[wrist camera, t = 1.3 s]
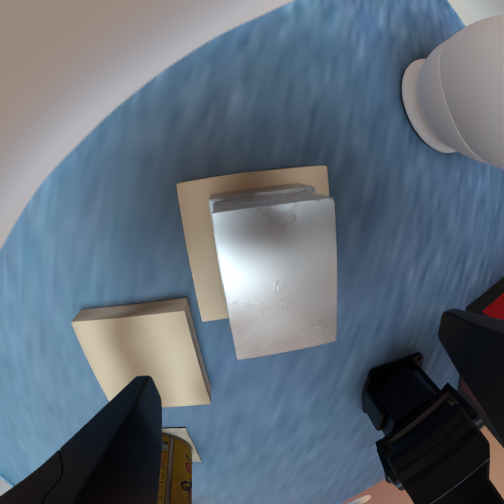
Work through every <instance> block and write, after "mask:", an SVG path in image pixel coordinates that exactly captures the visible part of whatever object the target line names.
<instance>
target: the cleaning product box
mask: <svg viewBox="0 0 504 504" xmlns="http://www.w3.org/2000/svg"><path fill="white" fill-rule="evenodd" d="M466 311H467V312H471V313H476V314H480V315H485V316H489V317H493V318H498V319H502V320H504V277H503V278H502V279H501V280H499V281H498V282H497V283H496V284H495V285H494V286H492V287H491V288H490V289H489V290H488V291H486V292H485V293H484V294H483V295H481V296H480V297H479V298H478V299H476V300H475V301H474V302H473V303H471V304H470V305H469V306H467V307H466ZM457 392H458V393H459V394H460V395H461V396H462V397H463V398H464V399H465V400H466V401H467V402H468V403H469V404H470V405H471V406H472V407H473V408H474V410H475V411H476V412H477V413H478V415H479V416H480V418H481V419H482V421H483V422H484V424H485V426H486V427H487V428H488V430H489V431H490V432H491V433H492V434H493V436H494V437H495V438H496V439H497V440H498V442H499V443H500V444H501V445H502V446H503V448H504V444H503V442H502V440H501V439H500V437H499V435H498V433H497V432H496V430H495V428H494V427H493V425H492V423H491V422H490V420H489V418H488V417H487V415H486V413H485V412H484V410H483V409H482V407H481V406H480V404H479V402H478V401H477V399H476V398H475V396H474V395H473V393H472V392H471V390H470V389H469V387H468V386H467V384H466V383H465V381H464V380H463V379H462V377H461V376H460V378H459V384H458V389H457Z"/></svg>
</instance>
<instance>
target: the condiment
mask: <svg viewBox="0 0 504 504" xmlns="http://www.w3.org/2000/svg"><path fill="white" fill-rule="evenodd" d="M192 462H202V461H201V459H200V457H199V455H198V453H197V451H196V449H195V446H194V445H193V443H192V440H191V439H190V437H189V435H188V433H187V430H186V428H166V429H162V455H161V465H160V477H159V490H158V504H192V500H191V499H192Z"/></svg>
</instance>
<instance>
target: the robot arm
mask: <svg viewBox="0 0 504 504" xmlns="http://www.w3.org/2000/svg"><path fill="white" fill-rule="evenodd" d="M438 337H439V340H440V342H441V343H442V345H443V347H444V348H445V350H446V352H447V354H448V355H449V357H450V359H451V360H452V362H453V364H454V366H455V368H456V369H457V371H458V373H459V374H460V376H461V377H462V379H463V380H464V381H465V383H466V384H467V386H468V387H469V389H470V390H471V392H472V393H473V395H474V396H475V398H476V399H477V401H478V402H479V404H480V406H481V407H482V409H483V410H484V412H485V413H486V415H487V417H488V418H489V420H490V422H491V423H492V425H493V427H494V428H495V430H496V432H497V433H498V435H499V437H500V439H501V440H502V442H503V444H504V320H502V319H498V318H493V317H489V316H485V315H480V314H476V313H471V312H467V311H463V310H458V309H450V310H447V311H445V312H444V313H443V314H442V317H441V322H440V327H439V331H438ZM422 358H423V355H422V354H421V353H417V354H414V355H412V356H409V357H407V358H404V359H401V360H398V361H395V362H393V363H390V364H387V365H384V366H381V367H378V368H375V369H372V370H371V371H370V372H369V375H368V381H367V387H366V389H365V393H364V398H363V403H362V405H363V408H362V410H363V412H364V413H367V414H368V416H369V418H370V420H371V421H372V423H373V425H374V427H375V428H376V430H378V431H380V430H382V431H383V433H384V435H385V437H383V438H382V439H379V440H378V441H376V442H375V443H376V446H377V452H378V455H379V457H380V460H381V463H382V466H383V468H384V472H385V479H386V481H387V482H388V483H391V484H394V485H395V486H396V487H397V488H398V489H399V490H401V491H403V490H406V492H407V493H408V494H409V496H410V497H411V499H412V501H413V503H414V504H504V500H503V498H502V497H501V495H500V494H499V492H498V491H497V489H496V488H495V487H494V485H493V484H492V482H491V481H490V479H489V466H490V465H489V464H490V463H489V462H490V448H489V447H490V445H489V442H488V440H487V439H486V438H485V436H484V435H483V434H482V432H481V431H480V430H481V429H482V428H483V427H484V426H485V424H484V422H483V421H482V419H481V418H480V416H479V415H478V413H477V412H476V411H475V410H474V408H473V407H472V406H471V405H470V404H469V403H468V402H467V401H466V400H465V399H464V398H463V397H462V396H461V395H460V394H459V393H458V392H457V391H456V390H455V389H454V388H453V387H452V386H451V385H450V384H449V383H447V384H446V385H445V386H444V388H443V389H442V390H440V389H439V388H438V387H437V386H436V385H435V383H434V382H433V381H432V380H431V379H430V378H429V377H428V375H427V374H426V373H425V372H424V371H423V370H422V369H421V368H420V366H421V362H422ZM161 455H162V401H161V396H160V394H159V392H158V389H157V387H156V385H155V383H154V380H153V378H152V377H151V376H149V375H142V376H136V377H135V378H134V379H133V380H132V381H131V382H130V383H129V384H128V385H126V386H125V387H124V388H123V389H122V390H121V391H120V392H119V393H118V394H117V395H116V396H115V397H114V398H113V399H112V400H111V401H110V402H109V403H108V404H107V405H106V406H104V407H103V408H102V409H101V410H100V411H99V412H98V413H97V414H96V415H95V416H94V417H93V418H92V419H91V420H90V421H89V422H88V423H87V424H86V425H84V426H83V427H82V428H81V429H80V430H79V431H78V432H77V433H76V434H75V435H74V436H73V437H72V438H71V439H70V440H69V441H68V442H66V443H65V444H64V445H63V446H62V447H61V448H60V450H58V451H57V452H56V453H55V454H54V455H52V456H51V457H50V458H49V459H48V460H47V461H46V462H45V463H44V464H42V465H41V466H40V467H39V468H38V469H37V470H35V471H34V472H33V473H31V474H30V475H29V476H28V477H26V478H25V479H24V480H22V481H21V482H19V483H18V484H17V485H15V486H14V487H13V488H11V489H10V490H8V491H7V492H6V493H4V494H3V495H1V496H0V504H158V490H159V477H160V465H161Z"/></svg>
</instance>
